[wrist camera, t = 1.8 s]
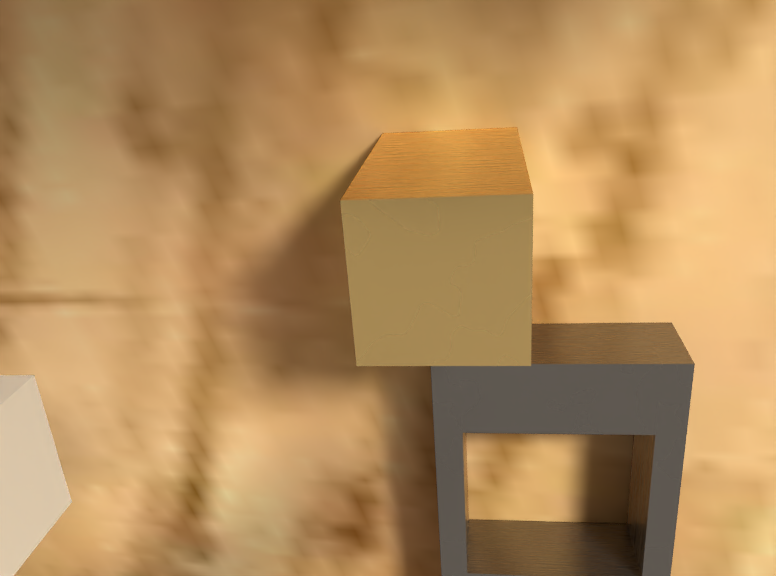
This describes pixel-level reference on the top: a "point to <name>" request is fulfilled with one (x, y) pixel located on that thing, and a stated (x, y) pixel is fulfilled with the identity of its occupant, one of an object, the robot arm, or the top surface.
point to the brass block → (441, 250)
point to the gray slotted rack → (569, 416)
